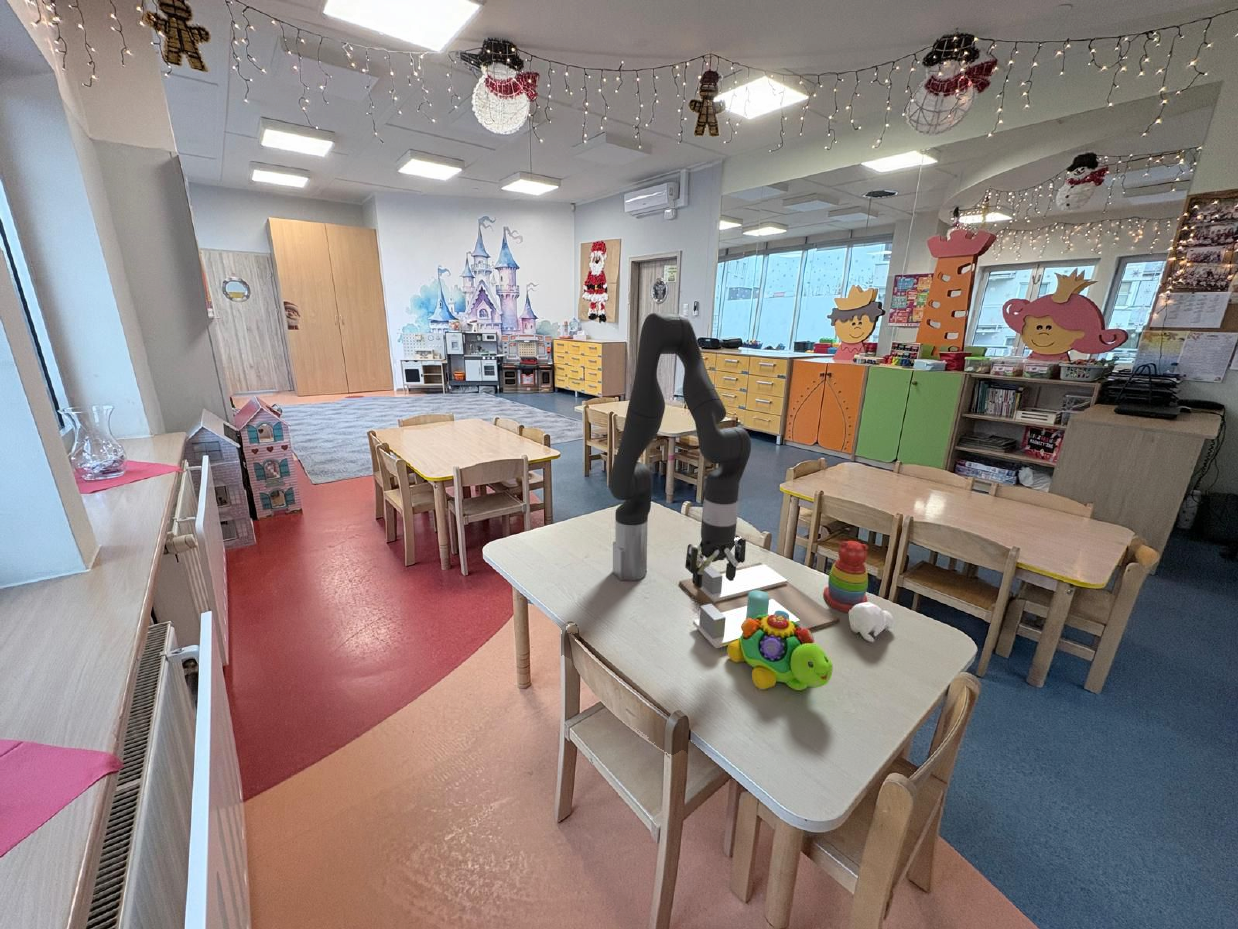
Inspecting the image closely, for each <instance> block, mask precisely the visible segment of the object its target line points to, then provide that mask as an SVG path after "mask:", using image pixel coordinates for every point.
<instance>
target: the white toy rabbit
mask: <svg viewBox="0 0 1238 929" xmlns="http://www.w3.org/2000/svg"><path fill="white" fill-rule="evenodd" d="M893 620H894V618H893V616H892V614H891V613H890V612H889V611H887V610H882V608H881V607H880V606H878V605H877V604H874V603H872V602H870V601H867V602H865V603H859V604H857V605H855V606H854V607H853V608H852V609H851V610H850V611H849V612H848V622H849V625H850V629H851V630H852V631H853V633H860V635H861V636H862V637H863V638H864V640H865V641H868V642H870V643H874V642H875V639H874V638H873V637H877V636H878V635H879V634H880V633H881V632H882V631H883V630H885V631H888V630H889V629H892V627H891V625H892V623H893ZM872 629H874V631H873V636H872V635H871V634H869V633H870V632H872Z"/></svg>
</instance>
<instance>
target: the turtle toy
mask: <svg viewBox="0 0 1238 929" xmlns="http://www.w3.org/2000/svg"><path fill="white" fill-rule="evenodd" d="M741 629H742V631H743V633H742V635H741V636H740V640H736V641H735V642H732V643H730V644H729V645H727V648H726V650H727V652H726V653H727V655H728V657H729V659H730V660H731V661H732V662H734V663H740V662H747V664H748V665H750V666H751V667H752V668H753V669H752V672H751V678H752V679H751V680H752V682H753V683H754V686H755V687H757V688H758V689H759V690H766V689H770V688H773V687H774V686H775V685H776V682H779V683H780V682H781V683H785V684H786V686H788V687H790V689H793V690H796V691H802V690H805V689H807V687H810V688H812V687H813V688H820V687H824V686H825V685H827V684H828V683H829V682H830V680H831V678H832V674H833V668H834V666H833V662H832V661H831V659H830V658H829V656H828V655H827V653H825V651H824V650H823V648H821V647H820V646H818V645H817V644H816V643H815V644H814V642H815V637H814V636H813V634H812V631H810V630H808V629H806V628H805V629H801V627H800V626H799V625H798V624H797V623H796V622H795V621H791V620H789V614H788V613H787V612H785V611H781V610H777V611H775V613H774V615H769V614H765V615H761V616H760V615H758V616H756V618H754V619H751V618H747V619H746V620H744V622H743V623H742V625H741Z"/></svg>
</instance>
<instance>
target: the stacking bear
mask: <svg viewBox="0 0 1238 929" xmlns="http://www.w3.org/2000/svg"><path fill="white" fill-rule="evenodd" d="M868 550H869V546H868V545H867V544H865V543H863V544H862V543H861V542H859V541H856V540H855V541H854V540H847V541H845V540H843V541H841V542H840V543H839V548H838V557H839V558H837V559H836V560H835V562H834V563H833V565H832V567H831V569H830V571H829V574H828V578H827V579H828V583H827V584H828V585H827V586H826V587H824V589H823V598H824V600H825V602H826V603H827V605H829V606H830V607H832V608H833V609H835V610H838V611H841V612H843V613H849V611H850V610H851V609H852V608H853V607H854V606H855V605H857V604H859V603H865V602H868V597H867V595H866V593H867V591H868V587H869V577H868V575H869V574H868V570H867V567H866V565H865V562H866V560H867V557H868Z"/></svg>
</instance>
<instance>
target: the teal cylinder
mask: <svg viewBox="0 0 1238 929" xmlns="http://www.w3.org/2000/svg"><path fill="white" fill-rule="evenodd" d="M769 598H770V597H769V595H768V594H767V593H765V592H763V591H758V590H755V591H751V592H749V593H748V602H747V613H746V617H747V618H751V619H754V618H756V616H758V615H760V616H761V615H765V614H768V608H769Z"/></svg>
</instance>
